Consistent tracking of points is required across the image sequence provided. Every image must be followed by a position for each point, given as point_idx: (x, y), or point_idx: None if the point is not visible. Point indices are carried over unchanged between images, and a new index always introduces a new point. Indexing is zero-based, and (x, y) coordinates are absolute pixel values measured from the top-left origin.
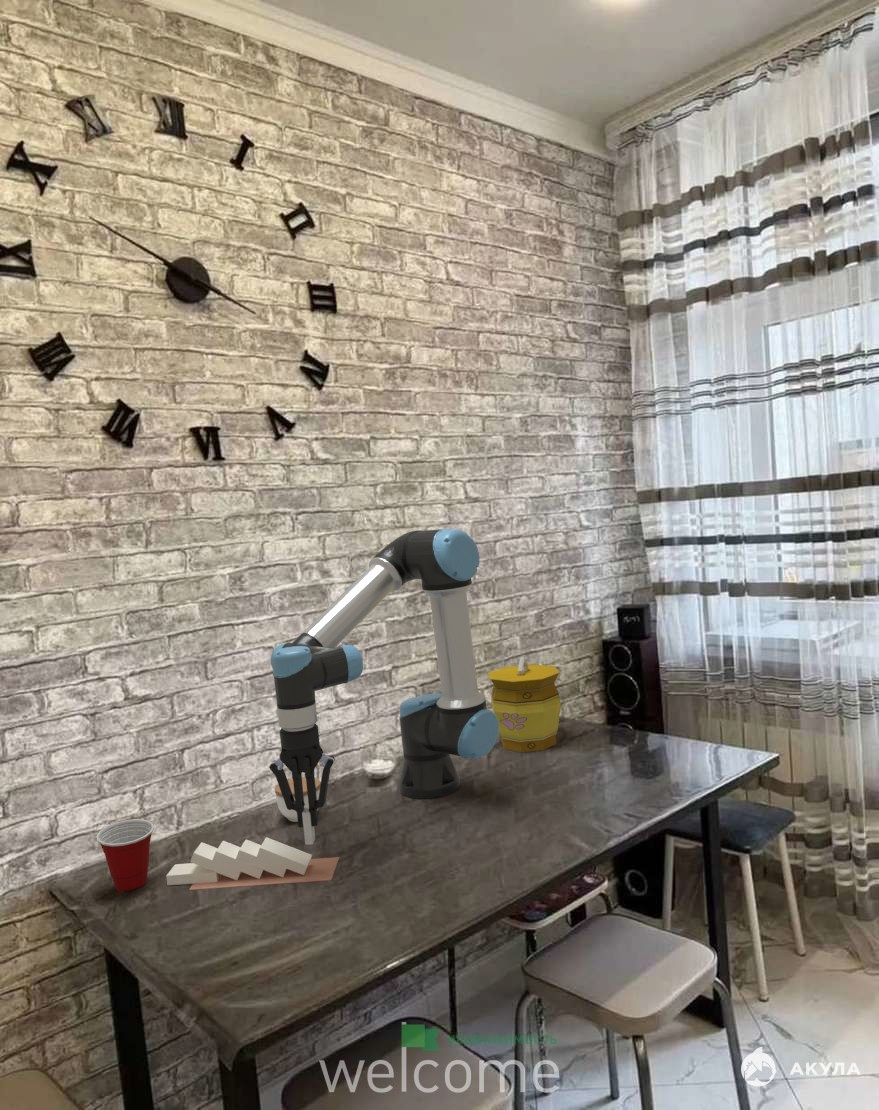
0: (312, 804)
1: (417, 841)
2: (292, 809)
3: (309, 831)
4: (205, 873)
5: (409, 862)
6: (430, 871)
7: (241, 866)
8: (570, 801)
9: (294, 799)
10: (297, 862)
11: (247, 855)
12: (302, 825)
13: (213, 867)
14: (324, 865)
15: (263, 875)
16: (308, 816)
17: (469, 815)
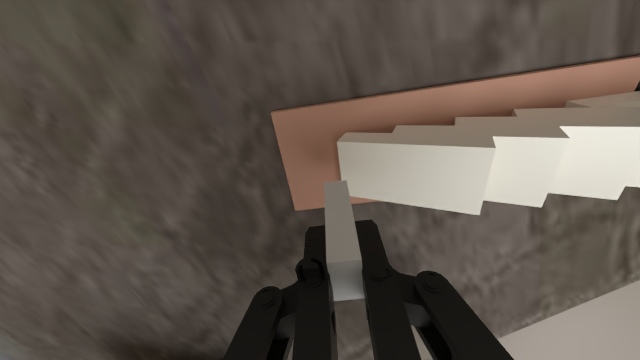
0: (308, 300)
1: (180, 263)
2: (414, 277)
3: (331, 206)
4: (623, 101)
5: (147, 197)
6: (77, 163)
7: (523, 121)
8: (28, 348)
9: (429, 357)
10: (363, 142)
11: (525, 134)
12: (360, 225)
13: (613, 110)
14: (313, 178)
15: None
16: (331, 247)
17: (146, 324)
